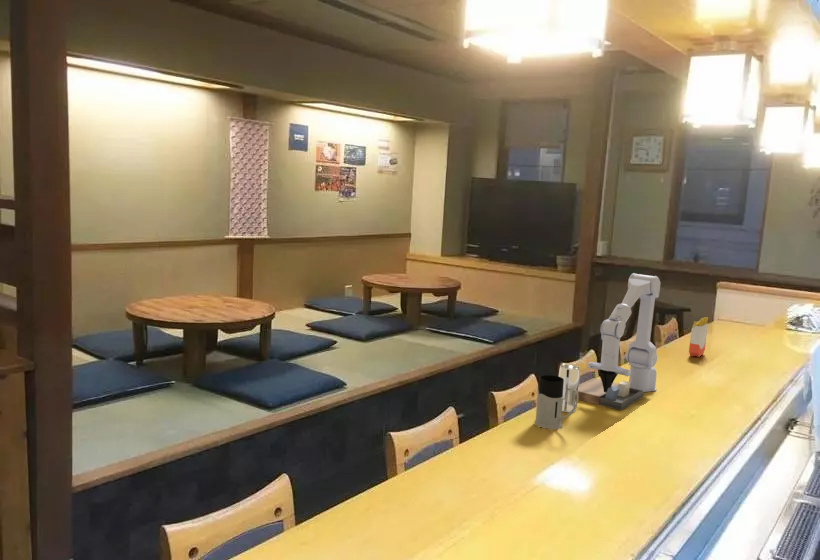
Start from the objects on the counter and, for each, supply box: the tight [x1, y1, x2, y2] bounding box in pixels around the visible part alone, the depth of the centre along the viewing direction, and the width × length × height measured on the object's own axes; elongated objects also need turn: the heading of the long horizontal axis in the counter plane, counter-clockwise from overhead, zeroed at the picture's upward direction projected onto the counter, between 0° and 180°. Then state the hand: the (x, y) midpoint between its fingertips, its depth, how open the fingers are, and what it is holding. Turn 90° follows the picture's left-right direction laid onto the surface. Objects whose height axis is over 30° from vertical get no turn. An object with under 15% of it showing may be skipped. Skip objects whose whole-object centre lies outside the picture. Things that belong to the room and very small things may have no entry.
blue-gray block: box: [605, 386, 620, 401], centre depth 239 cm, size 4×4×2 cm
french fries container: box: [688, 316, 709, 358], centre depth 314 cm, size 5×11×18 cm, turn 142°
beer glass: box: [558, 363, 581, 414], centre depth 230 cm, size 7×7×15 cm
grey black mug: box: [533, 374, 579, 430], centre depth 213 cm, size 9×14×15 cm, turn 44°
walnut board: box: [576, 377, 618, 406], centre depth 249 cm, size 12×20×3 cm, turn 141°
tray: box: [599, 388, 644, 411], centre depth 243 cm, size 8×20×2 cm, turn 141°
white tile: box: [617, 380, 630, 397], centre depth 247 cm, size 4×4×2 cm
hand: (606, 391), depth 241 cm, fingers closed
